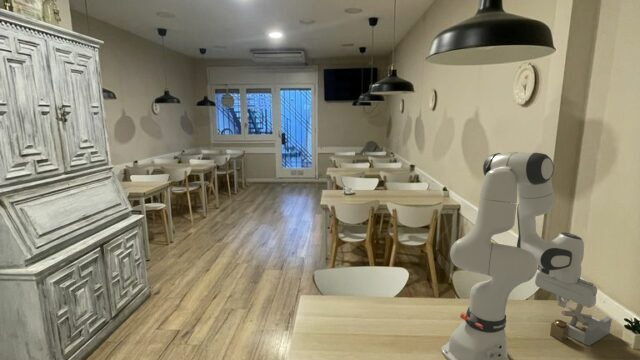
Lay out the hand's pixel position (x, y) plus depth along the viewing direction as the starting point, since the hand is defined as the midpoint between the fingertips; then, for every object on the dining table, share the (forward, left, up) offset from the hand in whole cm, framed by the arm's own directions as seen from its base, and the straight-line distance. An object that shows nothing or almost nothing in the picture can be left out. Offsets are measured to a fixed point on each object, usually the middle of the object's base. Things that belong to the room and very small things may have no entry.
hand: (561, 306), depth 135 cm
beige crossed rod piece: (0, -4, -6) cm, 7 cm away
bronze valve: (-11, -6, -6) cm, 14 cm away
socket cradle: (0, -7, -6) cm, 9 cm away
